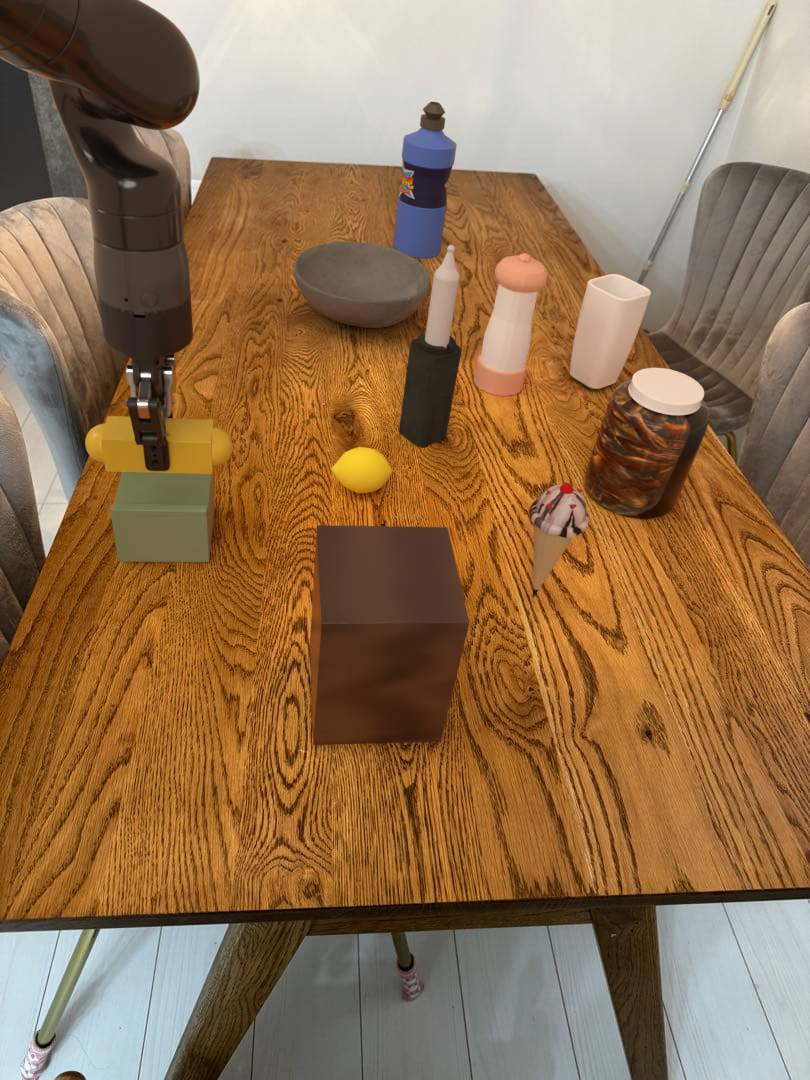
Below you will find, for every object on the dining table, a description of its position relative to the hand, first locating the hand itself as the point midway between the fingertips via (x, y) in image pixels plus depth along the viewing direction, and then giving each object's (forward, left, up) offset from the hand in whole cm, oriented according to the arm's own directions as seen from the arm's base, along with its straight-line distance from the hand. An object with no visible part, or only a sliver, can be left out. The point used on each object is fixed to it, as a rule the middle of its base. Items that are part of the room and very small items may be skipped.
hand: (160, 454), depth 80 cm
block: (0, 0, -10) cm, 10 cm away
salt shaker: (+43, +35, -10) cm, 56 cm away
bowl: (+24, +54, -10) cm, 60 cm away
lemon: (+21, +9, -10) cm, 25 cm away
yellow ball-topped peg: (0, 0, -1) cm, 1 cm away
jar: (+55, +10, -10) cm, 57 cm away
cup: (+58, +37, -10) cm, 69 cm away
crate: (+20, -21, -10) cm, 31 cm away
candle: (+30, +21, -10) cm, 38 cm away
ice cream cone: (+38, -9, -10) cm, 41 cm away
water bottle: (+37, +84, -10) cm, 92 cm away
